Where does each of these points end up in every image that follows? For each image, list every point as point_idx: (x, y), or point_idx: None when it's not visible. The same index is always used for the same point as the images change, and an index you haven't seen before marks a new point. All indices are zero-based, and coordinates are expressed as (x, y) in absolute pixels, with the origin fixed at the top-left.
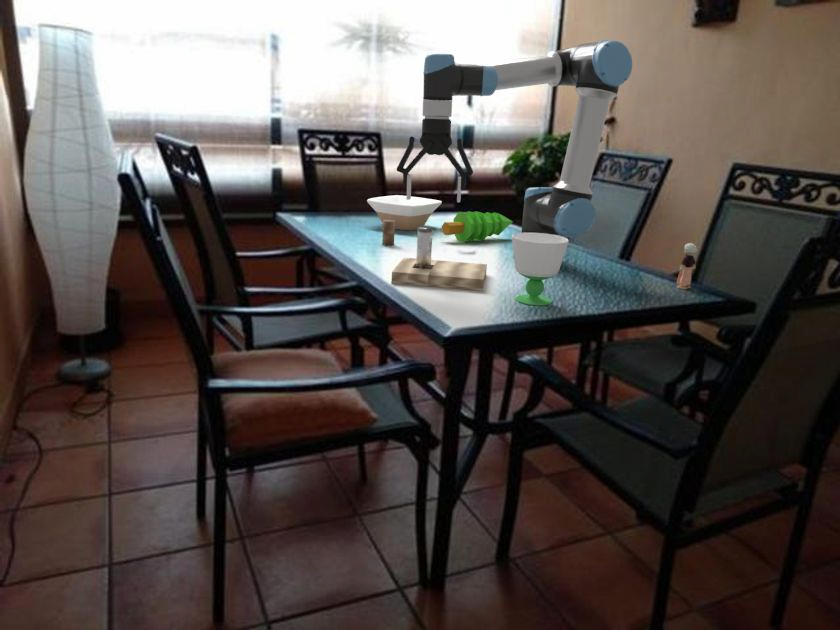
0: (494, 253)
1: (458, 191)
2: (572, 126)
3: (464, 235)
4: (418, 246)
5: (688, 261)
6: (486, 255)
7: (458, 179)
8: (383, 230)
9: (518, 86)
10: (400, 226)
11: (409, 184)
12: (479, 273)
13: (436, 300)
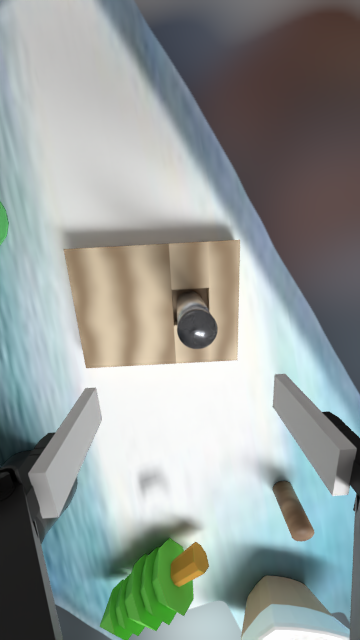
0: (111, 493)
1: (75, 415)
2: None
3: (169, 552)
4: (204, 305)
5: None
6: (120, 477)
7: (49, 461)
8: (302, 508)
9: None
10: (279, 582)
11: (308, 412)
12: (81, 294)
13: (134, 146)
